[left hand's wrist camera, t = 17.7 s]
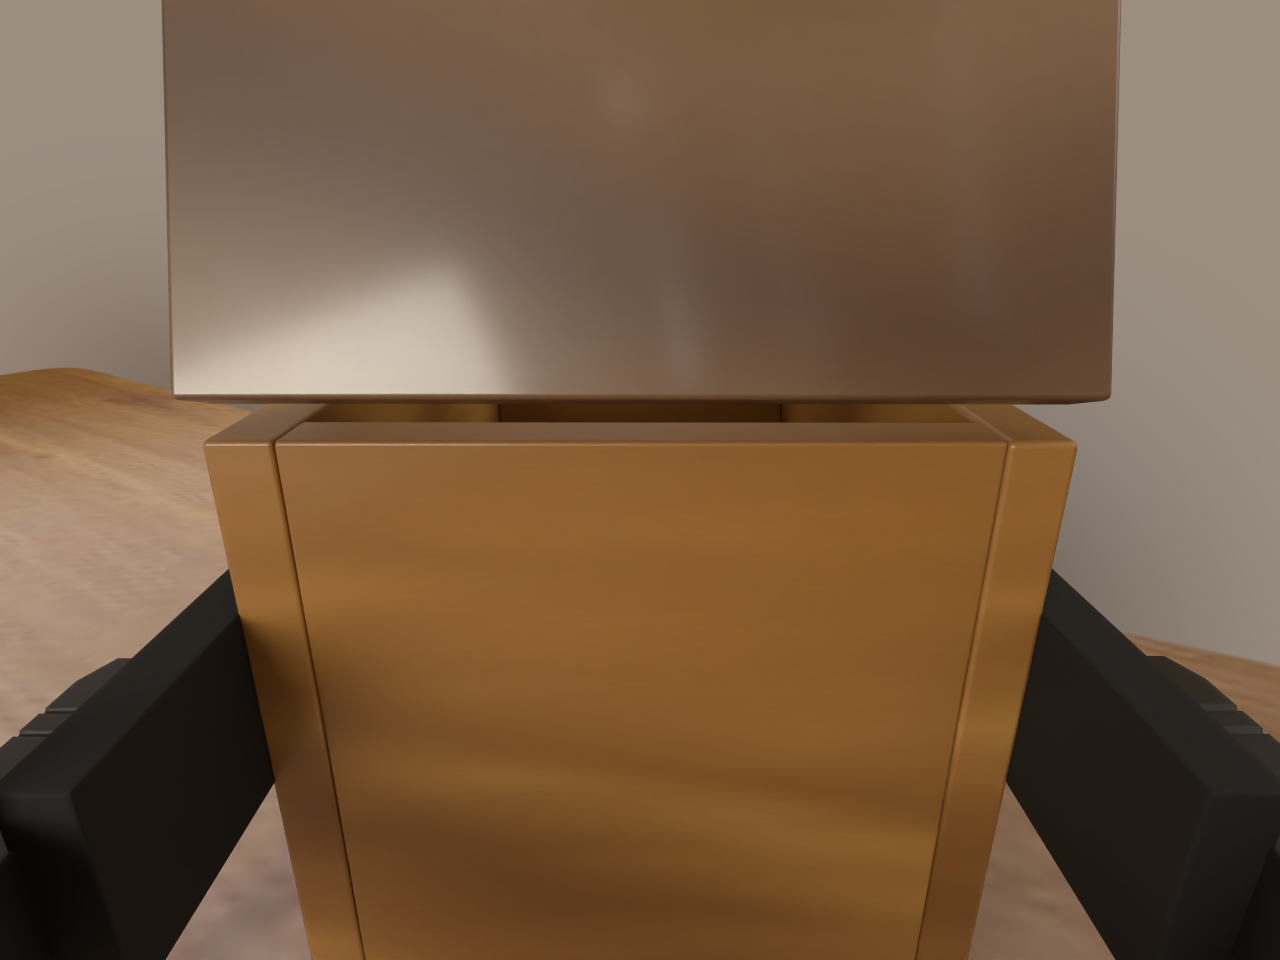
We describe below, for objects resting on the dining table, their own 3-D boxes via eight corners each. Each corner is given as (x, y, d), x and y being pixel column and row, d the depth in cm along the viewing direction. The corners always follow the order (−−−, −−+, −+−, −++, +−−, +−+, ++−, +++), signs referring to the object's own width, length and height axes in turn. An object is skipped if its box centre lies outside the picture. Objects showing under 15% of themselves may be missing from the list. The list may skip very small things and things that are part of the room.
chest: (490, 595, 27) (466, 285, 23) (789, 595, 27) (813, 286, 23) (327, 1045, 13) (198, 442, 9) (952, 1045, 13) (1083, 443, 9)
